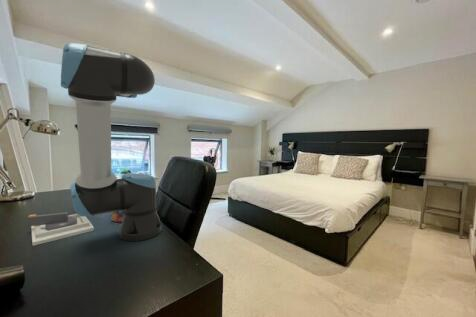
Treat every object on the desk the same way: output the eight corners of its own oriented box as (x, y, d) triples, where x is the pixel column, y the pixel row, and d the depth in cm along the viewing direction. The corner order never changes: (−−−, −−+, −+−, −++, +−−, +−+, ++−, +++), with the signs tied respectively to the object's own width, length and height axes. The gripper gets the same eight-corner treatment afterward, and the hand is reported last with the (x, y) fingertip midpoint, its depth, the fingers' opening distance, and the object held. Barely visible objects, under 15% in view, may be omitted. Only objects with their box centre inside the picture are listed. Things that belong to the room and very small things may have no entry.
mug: (112, 225, 92) (111, 201, 91) (108, 218, 99) (106, 196, 98) (141, 218, 100) (140, 196, 99) (135, 213, 107) (134, 192, 106)
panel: (94, 230, 87) (93, 223, 86) (32, 245, 74) (31, 237, 74) (83, 216, 102) (83, 210, 102) (31, 226, 90) (30, 220, 89)
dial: (80, 219, 95) (79, 207, 94) (73, 228, 86) (72, 214, 85) (36, 224, 89) (34, 211, 88) (23, 234, 80) (22, 220, 79)
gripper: (104, 111, 107) (106, 158, 110) (71, 109, 98) (75, 160, 101) (108, 110, 102) (110, 160, 104) (74, 107, 93) (77, 162, 95)
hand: (93, 160), depth 102 cm, fingers closed
